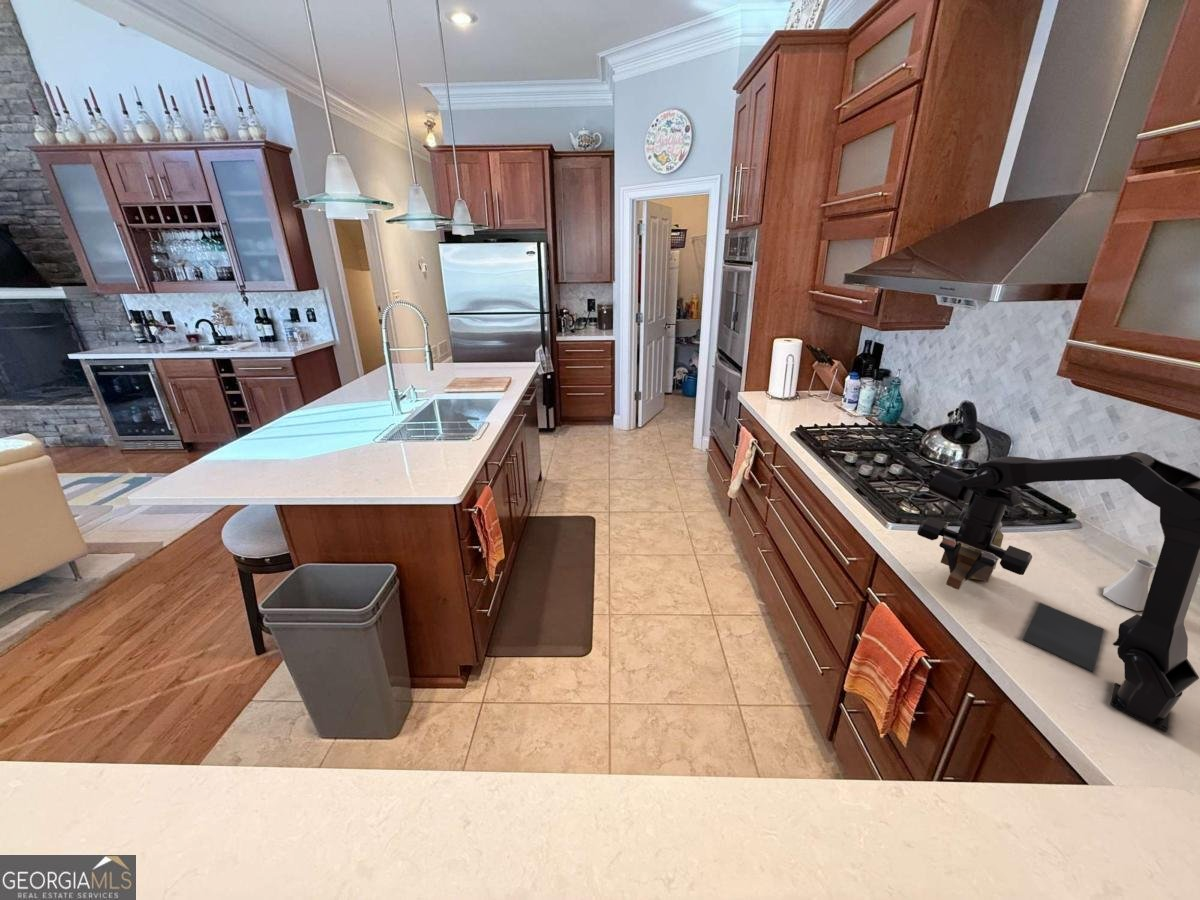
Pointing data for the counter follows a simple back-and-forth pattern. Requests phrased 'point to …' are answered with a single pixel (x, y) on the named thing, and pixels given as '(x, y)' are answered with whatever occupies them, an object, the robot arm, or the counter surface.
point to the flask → (1132, 586)
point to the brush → (965, 568)
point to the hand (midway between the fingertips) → (959, 575)
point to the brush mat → (1065, 636)
